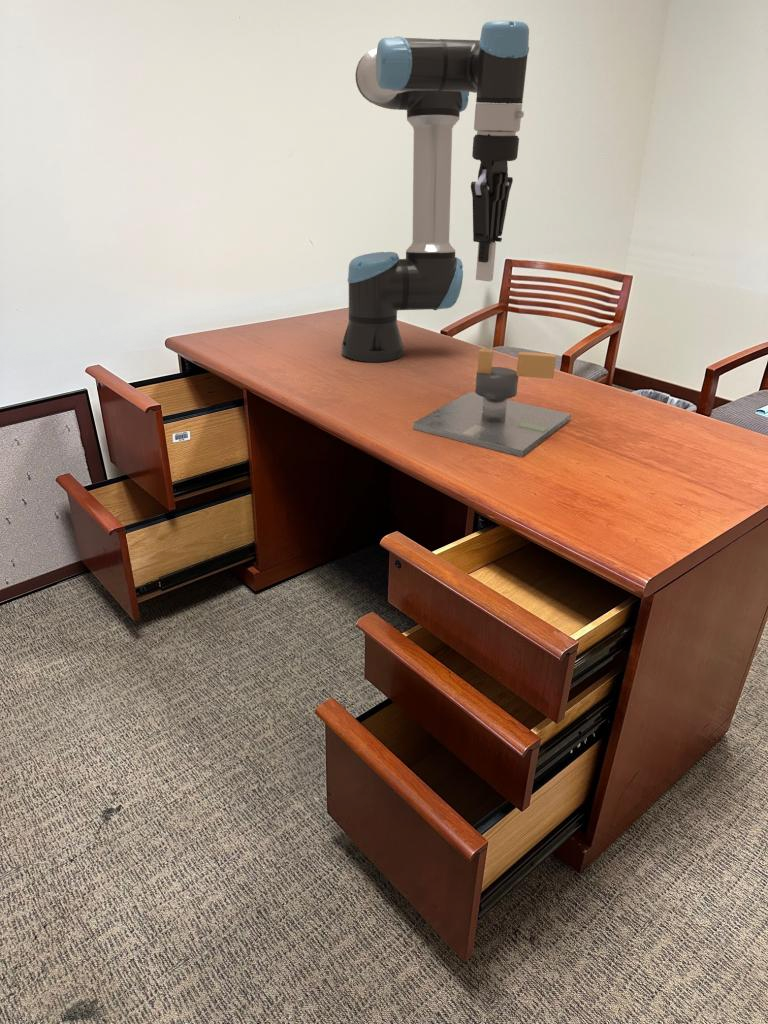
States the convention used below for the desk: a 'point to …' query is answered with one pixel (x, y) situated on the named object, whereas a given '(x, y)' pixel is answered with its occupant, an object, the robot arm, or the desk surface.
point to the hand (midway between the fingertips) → (484, 279)
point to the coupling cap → (510, 373)
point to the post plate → (493, 423)
